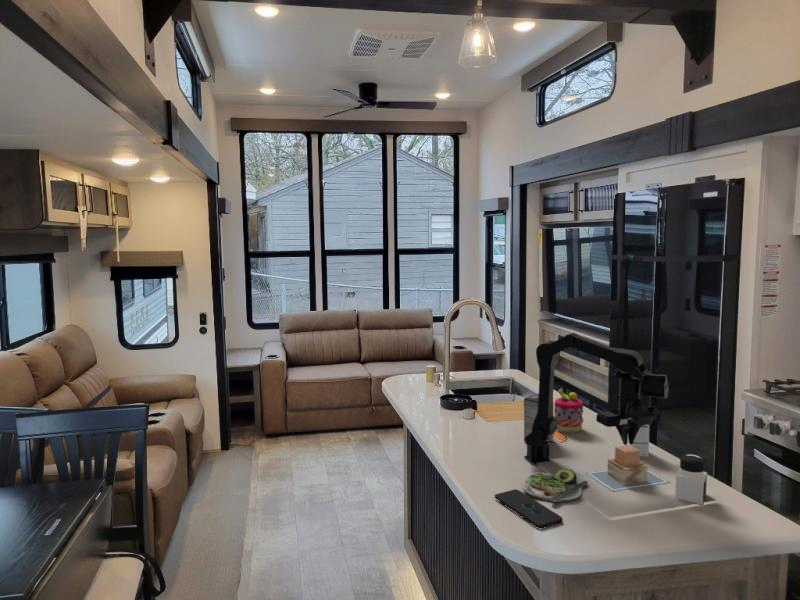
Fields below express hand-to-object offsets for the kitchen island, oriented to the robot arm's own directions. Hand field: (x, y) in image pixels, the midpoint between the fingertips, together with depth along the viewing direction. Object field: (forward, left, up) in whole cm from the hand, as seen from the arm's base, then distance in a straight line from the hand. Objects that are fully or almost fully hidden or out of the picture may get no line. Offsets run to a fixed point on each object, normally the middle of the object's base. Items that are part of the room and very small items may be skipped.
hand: (628, 444), depth 180 cm
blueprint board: (0, 0, -11) cm, 11 cm away
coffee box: (-9, +38, -11) cm, 41 cm away
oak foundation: (0, 0, -10) cm, 10 cm away
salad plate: (-24, +1, -12) cm, 27 cm away
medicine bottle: (+9, -16, -11) cm, 22 cm away
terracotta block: (0, 0, -6) cm, 6 cm away
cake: (+8, +46, -11) cm, 48 cm away
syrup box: (+16, +16, -11) cm, 25 cm away
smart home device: (-38, -9, -12) cm, 41 cm away
